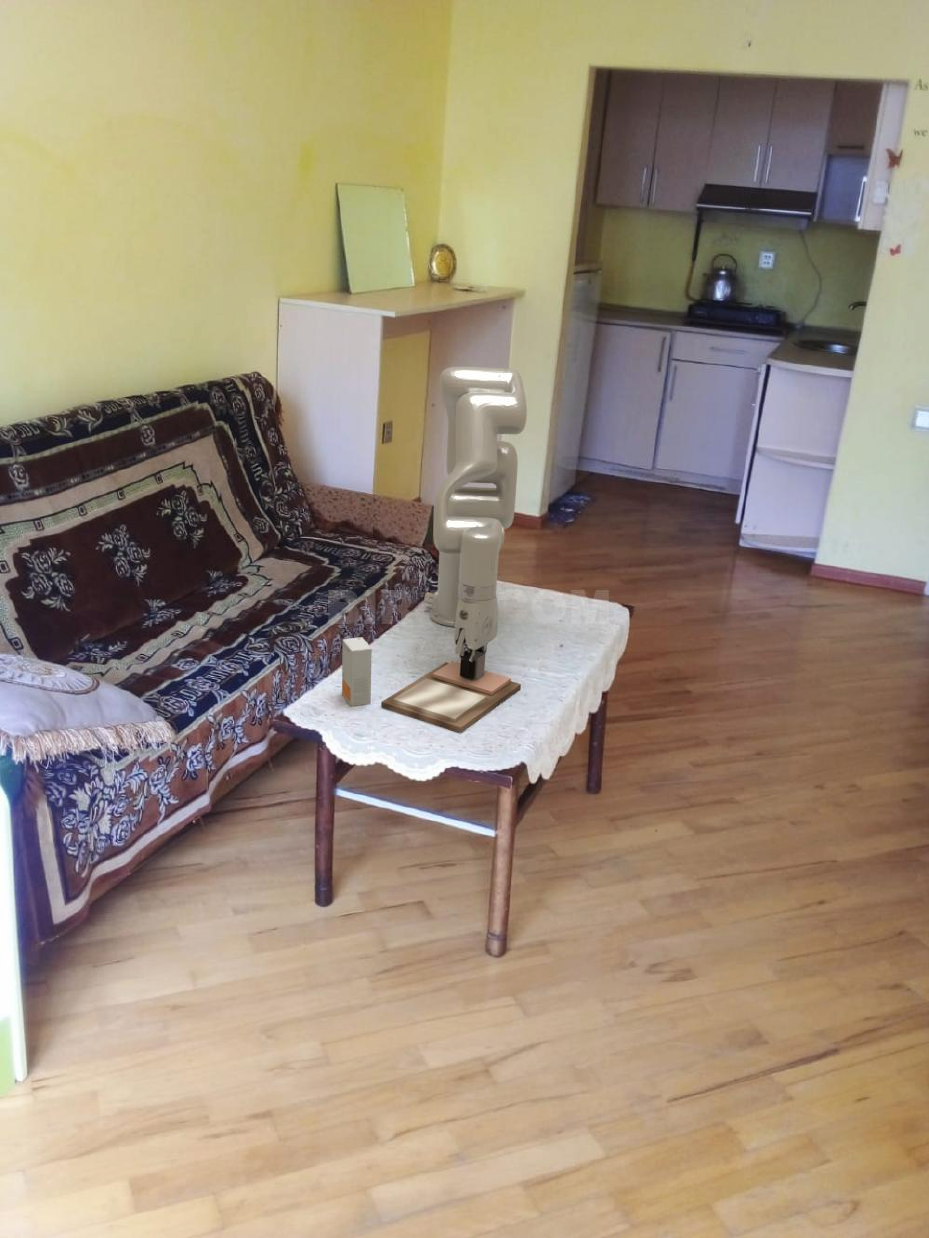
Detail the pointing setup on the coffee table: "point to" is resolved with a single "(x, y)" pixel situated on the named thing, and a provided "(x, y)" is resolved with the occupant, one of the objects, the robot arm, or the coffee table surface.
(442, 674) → the peach lid with handle
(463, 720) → the board
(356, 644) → the skincare box
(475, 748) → the coffee table surface
